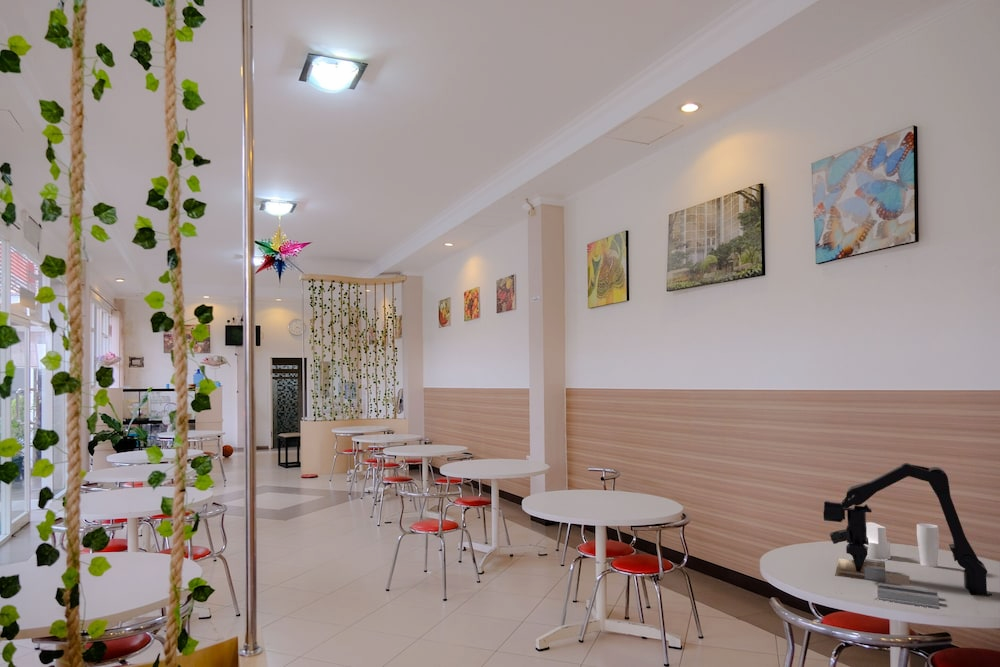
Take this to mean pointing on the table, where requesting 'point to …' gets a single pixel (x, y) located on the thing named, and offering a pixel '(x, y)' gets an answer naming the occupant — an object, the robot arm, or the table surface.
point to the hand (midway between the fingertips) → (858, 569)
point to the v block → (908, 595)
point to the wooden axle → (850, 565)
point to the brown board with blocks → (876, 574)
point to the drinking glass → (928, 544)
